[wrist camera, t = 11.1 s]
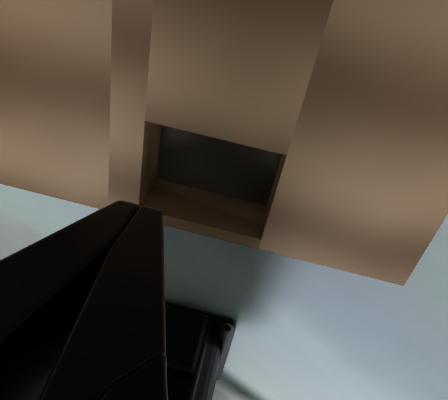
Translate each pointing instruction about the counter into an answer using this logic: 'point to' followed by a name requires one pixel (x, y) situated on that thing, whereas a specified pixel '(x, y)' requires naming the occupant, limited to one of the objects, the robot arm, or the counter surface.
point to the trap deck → (238, 119)
